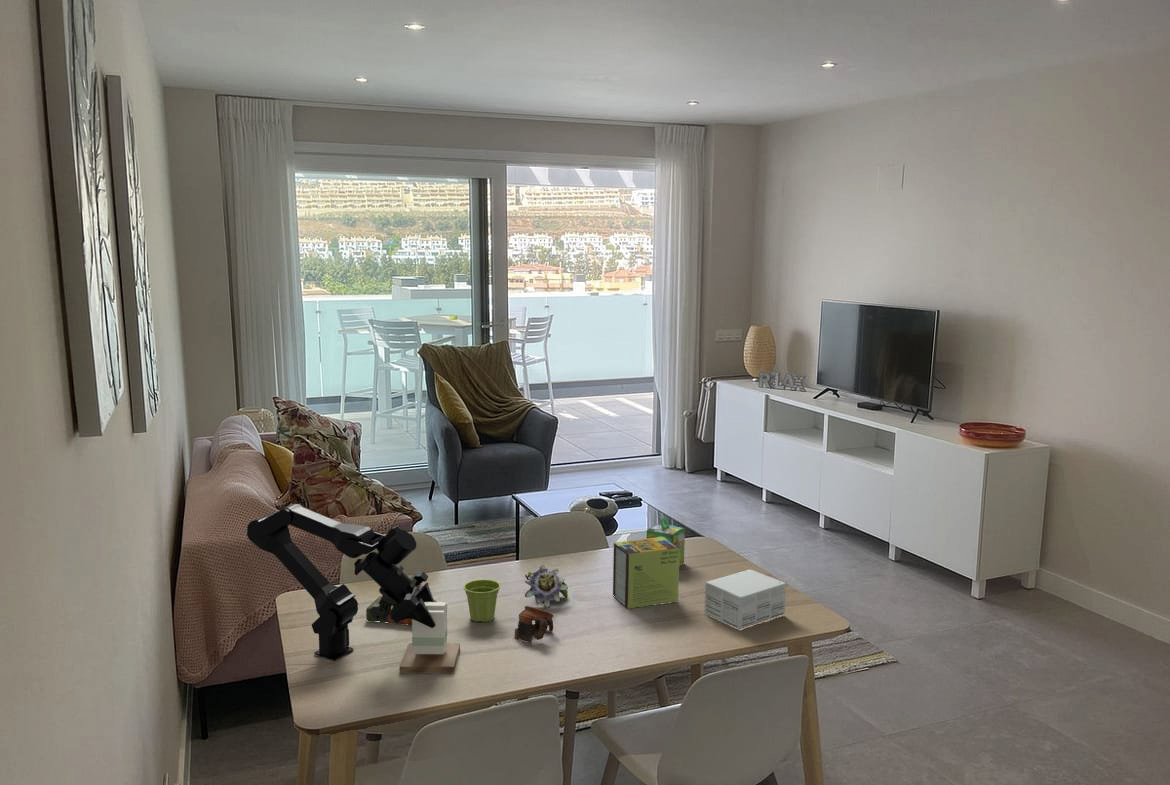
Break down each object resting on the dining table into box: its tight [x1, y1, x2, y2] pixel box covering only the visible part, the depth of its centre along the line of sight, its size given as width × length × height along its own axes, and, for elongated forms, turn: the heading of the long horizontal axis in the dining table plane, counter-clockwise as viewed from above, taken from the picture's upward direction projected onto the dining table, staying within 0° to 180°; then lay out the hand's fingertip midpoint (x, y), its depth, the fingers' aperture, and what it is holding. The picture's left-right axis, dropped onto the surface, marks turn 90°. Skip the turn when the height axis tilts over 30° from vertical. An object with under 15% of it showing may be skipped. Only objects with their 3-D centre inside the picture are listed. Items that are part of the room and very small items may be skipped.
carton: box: [365, 595, 437, 626], centre depth 222 cm, size 8×16×4 cm, turn 80°
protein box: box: [612, 537, 680, 610], centre depth 236 cm, size 10×15×16 cm
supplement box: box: [704, 568, 787, 629], centre depth 226 cm, size 17×13×9 cm
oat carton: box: [411, 601, 448, 654], centre depth 197 cm, size 7×6×11 cm
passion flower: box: [524, 563, 569, 608], centre depth 234 cm, size 11×11×12 cm
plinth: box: [399, 642, 461, 674], centre depth 198 cm, size 12×12×2 cm
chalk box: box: [646, 515, 686, 567], centre depth 263 cm, size 9×9×15 cm
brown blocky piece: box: [513, 605, 554, 643], centre depth 212 cm, size 12×10×8 cm
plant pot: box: [463, 579, 501, 623], centre depth 222 cm, size 9×9×9 cm
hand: (436, 621), depth 197 cm, fingers closed on oat carton, 5 cm apart
